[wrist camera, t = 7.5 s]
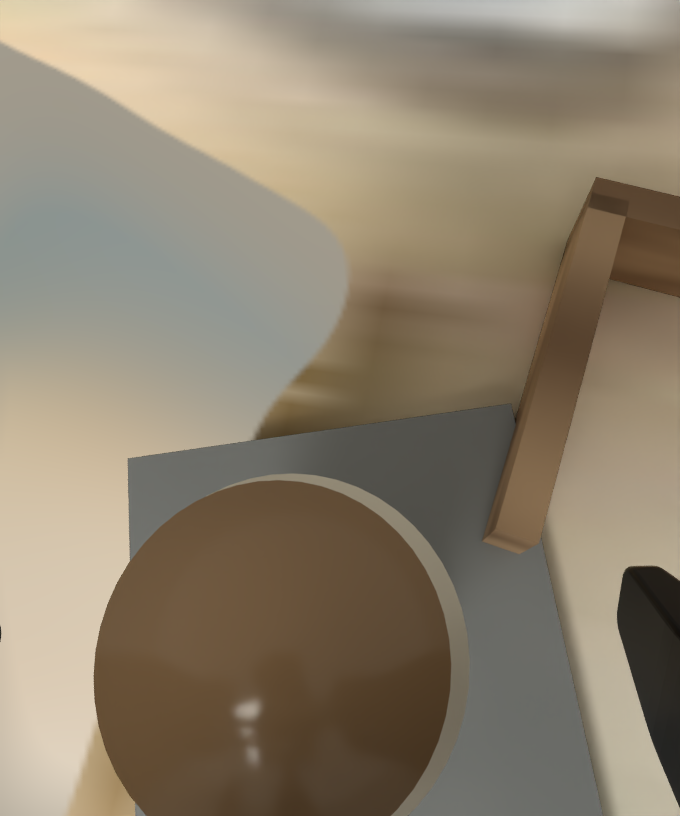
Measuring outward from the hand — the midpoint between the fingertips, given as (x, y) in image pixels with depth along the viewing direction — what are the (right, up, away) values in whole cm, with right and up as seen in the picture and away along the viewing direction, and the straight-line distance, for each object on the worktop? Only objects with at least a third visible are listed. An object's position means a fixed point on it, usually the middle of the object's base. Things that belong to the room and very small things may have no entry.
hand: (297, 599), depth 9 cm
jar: (+1, -3, +8) cm, 8 cm away
